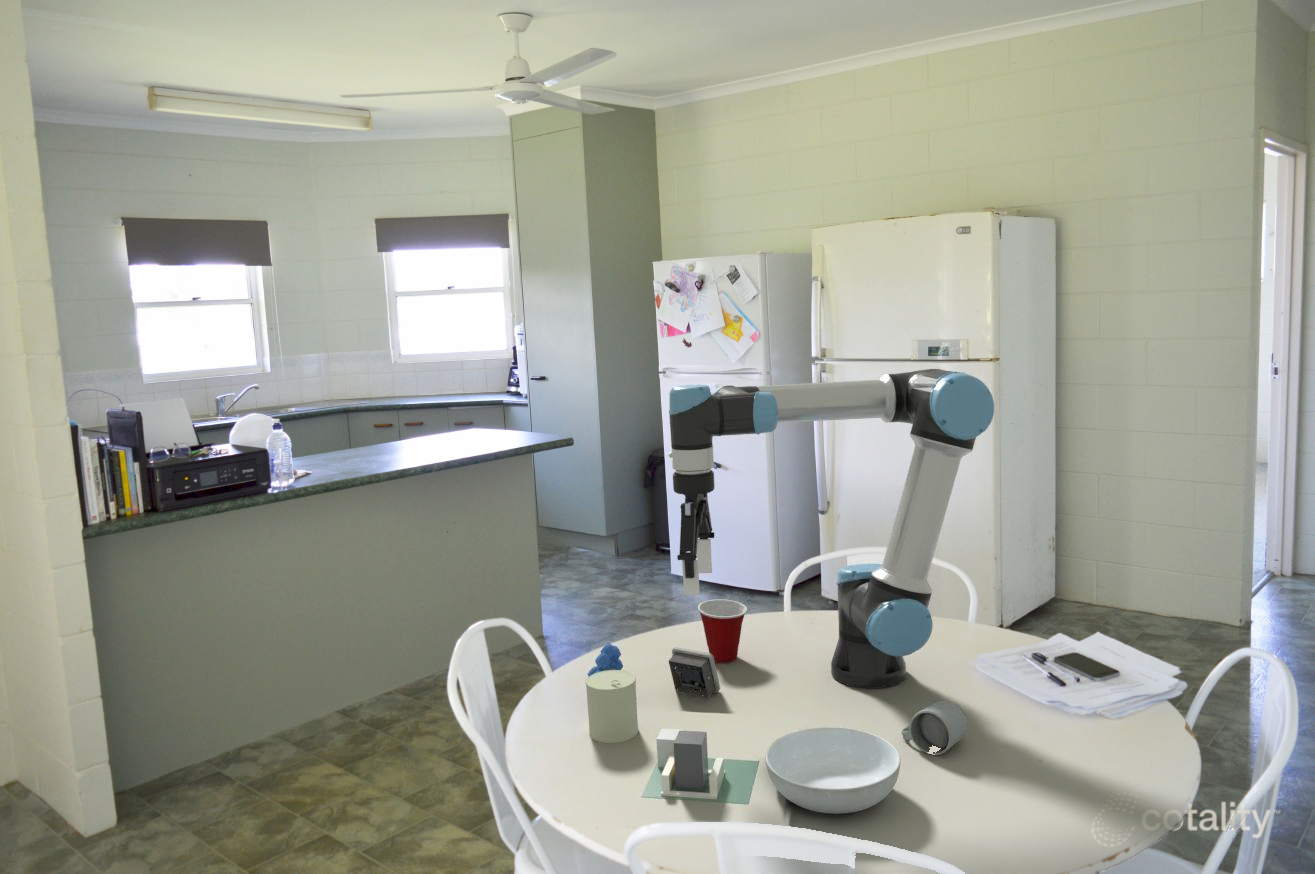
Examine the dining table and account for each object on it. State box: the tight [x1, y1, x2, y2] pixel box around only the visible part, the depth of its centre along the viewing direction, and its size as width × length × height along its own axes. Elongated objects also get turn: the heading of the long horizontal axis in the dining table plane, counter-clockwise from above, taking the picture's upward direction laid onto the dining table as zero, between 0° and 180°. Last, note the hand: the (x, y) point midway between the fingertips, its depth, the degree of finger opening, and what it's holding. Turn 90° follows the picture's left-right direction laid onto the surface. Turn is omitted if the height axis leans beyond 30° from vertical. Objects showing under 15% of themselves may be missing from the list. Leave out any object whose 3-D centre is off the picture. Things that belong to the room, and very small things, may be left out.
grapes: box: [587, 643, 624, 678], centre depth 192 cm, size 12×7×12 cm, turn 161°
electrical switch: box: [668, 646, 721, 699], centre depth 195 cm, size 9×5×9 cm, turn 57°
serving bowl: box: [764, 726, 902, 814], centre depth 153 cm, size 21×21×7 cm
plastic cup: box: [697, 598, 748, 664], centre depth 212 cm, size 11×11×12 cm
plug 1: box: [655, 728, 686, 768], centre depth 163 cm, size 4×4×5 cm
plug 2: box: [673, 730, 709, 792], centre depth 155 cm, size 5×4×8 cm
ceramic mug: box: [900, 700, 968, 756], centre depth 168 cm, size 11×8×8 cm
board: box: [640, 755, 760, 805], centre depth 158 cm, size 17×14×4 cm
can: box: [585, 669, 639, 744], centre depth 176 cm, size 9×9×12 cm
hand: (698, 583), depth 179 cm, fingers open, 13 cm apart
